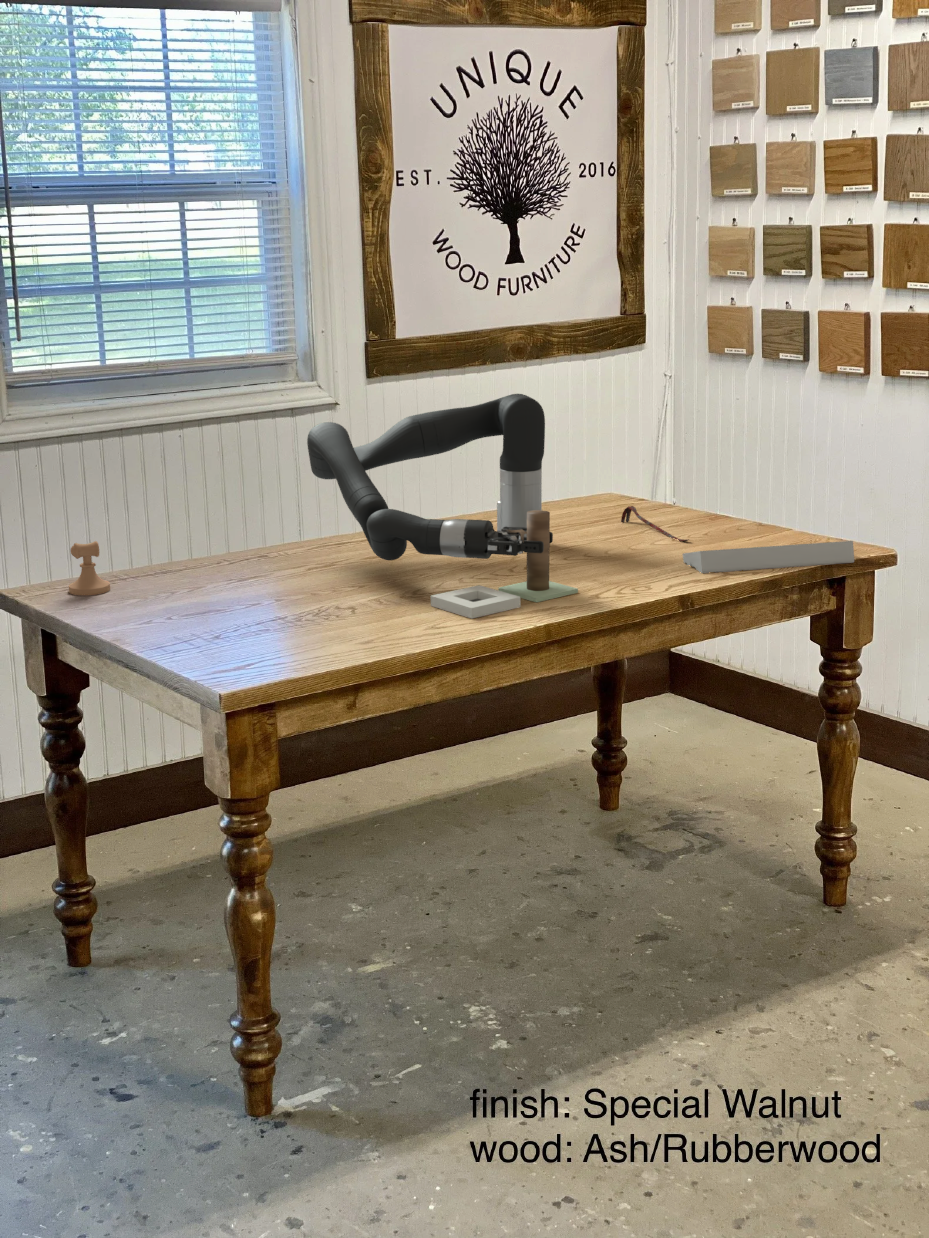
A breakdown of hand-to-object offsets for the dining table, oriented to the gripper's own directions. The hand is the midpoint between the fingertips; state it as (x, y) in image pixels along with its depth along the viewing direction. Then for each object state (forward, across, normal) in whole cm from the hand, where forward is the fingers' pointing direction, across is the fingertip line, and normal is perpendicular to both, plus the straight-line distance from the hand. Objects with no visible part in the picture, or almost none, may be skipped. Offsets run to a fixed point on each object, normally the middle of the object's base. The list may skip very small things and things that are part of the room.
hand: (547, 542), depth 280 cm
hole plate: (-11, +13, -10) cm, 20 cm away
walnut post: (-2, 0, -9) cm, 9 cm away
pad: (-2, 0, -10) cm, 10 cm away
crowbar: (+12, -60, -11) cm, 62 cm away
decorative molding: (+40, -35, -11) cm, 54 cm away
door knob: (-89, +18, -10) cm, 92 cm away
